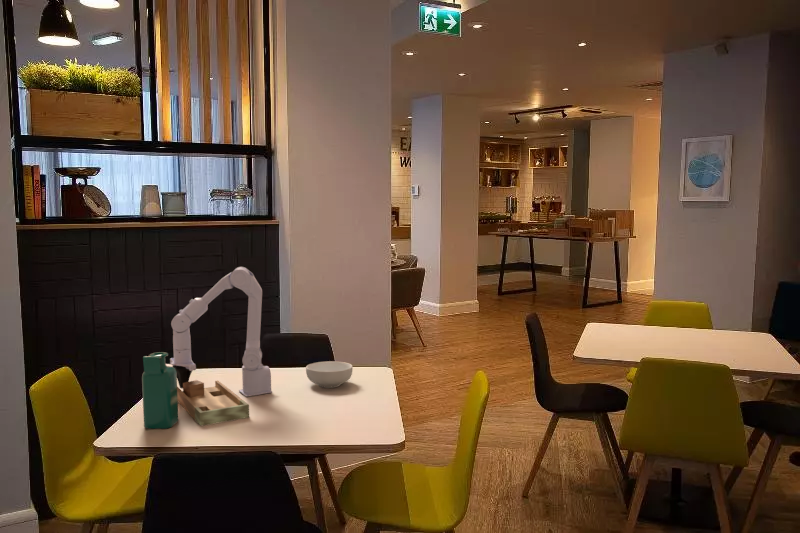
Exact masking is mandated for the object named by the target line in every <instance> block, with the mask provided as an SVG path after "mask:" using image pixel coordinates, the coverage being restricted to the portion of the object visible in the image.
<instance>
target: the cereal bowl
mask: <svg viewBox="0 0 800 533" xmlns="http://www.w3.org/2000/svg"><path fill="white" fill-rule="evenodd" d="M353 368H354V367H353V365H352V364H351V363H349V362H344V361H335V360H332V361H331V360H329V361H327V360H326V361H318V362H313V363H309V364H307V365H306V366H305V374H306V376H307V378H308V380H309V381H310V382H312V383H313V384H315V385H318V386H319V387H320V388H324V389H325V388H326V389H327V388H328V389H331V388H336V387H340V386H341V385H342V384H344V383H347V382H348V381H349V380H350V378H351V377H352V375H353Z"/></svg>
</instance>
